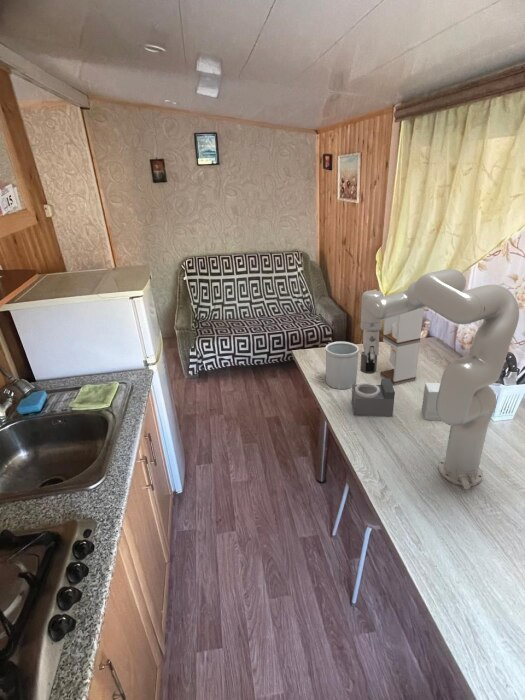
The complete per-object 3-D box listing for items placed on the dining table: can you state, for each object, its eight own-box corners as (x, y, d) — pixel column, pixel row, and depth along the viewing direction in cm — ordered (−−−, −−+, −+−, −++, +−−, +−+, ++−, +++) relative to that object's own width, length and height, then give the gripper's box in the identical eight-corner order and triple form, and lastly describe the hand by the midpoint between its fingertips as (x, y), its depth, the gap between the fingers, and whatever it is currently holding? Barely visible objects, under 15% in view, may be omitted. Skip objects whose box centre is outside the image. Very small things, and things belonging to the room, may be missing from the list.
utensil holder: (337, 371, 190) (337, 338, 183) (363, 380, 180) (365, 346, 173) (318, 382, 181) (318, 348, 173) (345, 393, 171) (346, 357, 163)
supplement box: (445, 421, 148) (449, 392, 143) (424, 420, 150) (428, 391, 144) (441, 410, 154) (445, 382, 149) (421, 409, 156) (424, 382, 151)
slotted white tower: (401, 370, 186) (407, 300, 172) (415, 380, 177) (423, 307, 162) (380, 375, 183) (385, 304, 169) (393, 385, 174) (400, 311, 160)
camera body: (392, 416, 153) (394, 392, 148) (353, 415, 155) (354, 391, 150) (388, 401, 163) (390, 378, 158) (351, 400, 165) (352, 378, 160)
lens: (377, 373, 149) (378, 357, 146) (360, 373, 150) (361, 357, 147) (375, 366, 154) (376, 350, 151) (359, 366, 155) (360, 350, 152)
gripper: (385, 332, 136) (381, 378, 143) (378, 316, 151) (375, 357, 159) (363, 333, 137) (361, 377, 144) (358, 316, 152) (356, 357, 160)
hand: (368, 366), depth 151 cm, fingers closed on lens, 6 cm apart
